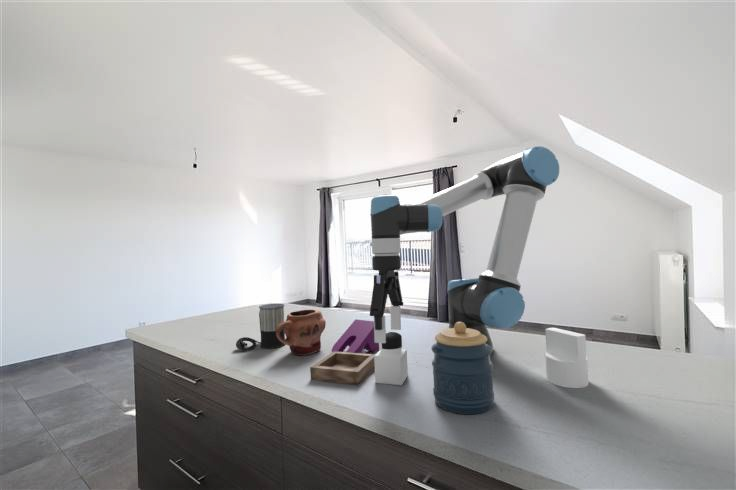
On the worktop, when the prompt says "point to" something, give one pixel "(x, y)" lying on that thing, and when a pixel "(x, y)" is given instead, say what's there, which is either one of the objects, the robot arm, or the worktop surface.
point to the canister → (462, 370)
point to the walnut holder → (343, 368)
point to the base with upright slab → (566, 358)
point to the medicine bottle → (391, 361)
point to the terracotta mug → (302, 331)
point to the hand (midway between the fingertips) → (388, 335)
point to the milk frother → (267, 328)
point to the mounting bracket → (357, 338)
